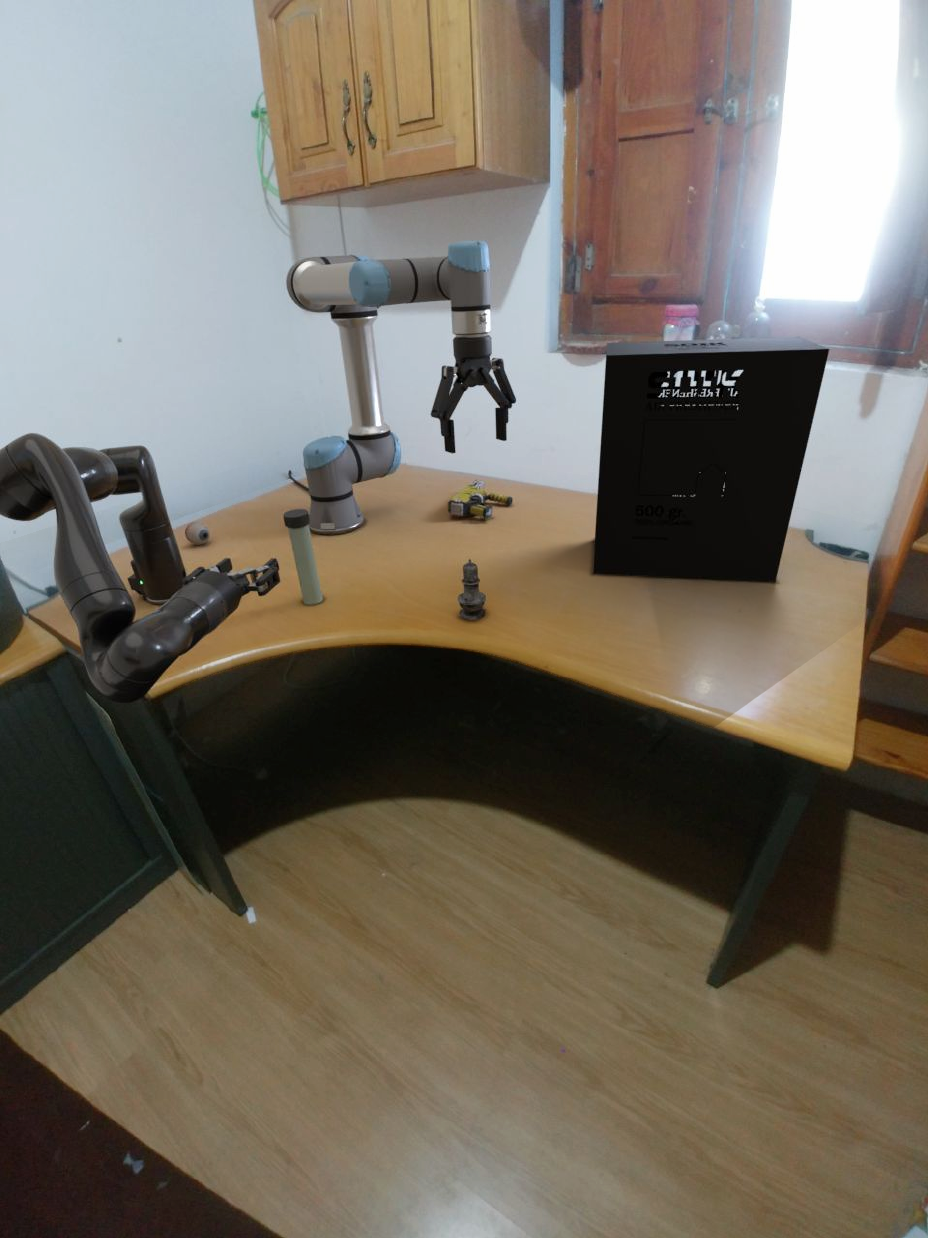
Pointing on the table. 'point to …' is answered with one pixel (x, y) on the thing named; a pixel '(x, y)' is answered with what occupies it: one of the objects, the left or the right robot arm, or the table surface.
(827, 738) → the table surface
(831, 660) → the table surface
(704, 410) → the black angular block
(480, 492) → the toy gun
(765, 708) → the table surface
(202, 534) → the eyeball
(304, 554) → the bottle
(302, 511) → the lid
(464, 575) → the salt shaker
